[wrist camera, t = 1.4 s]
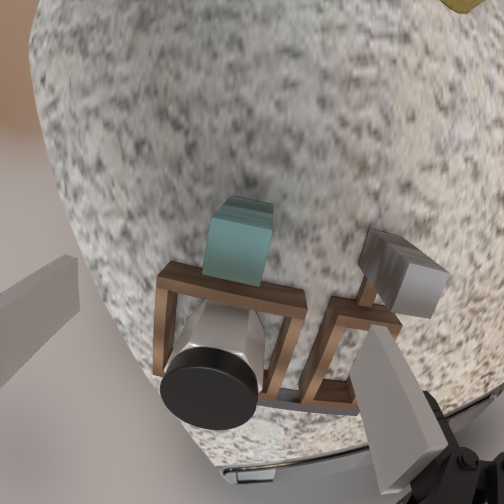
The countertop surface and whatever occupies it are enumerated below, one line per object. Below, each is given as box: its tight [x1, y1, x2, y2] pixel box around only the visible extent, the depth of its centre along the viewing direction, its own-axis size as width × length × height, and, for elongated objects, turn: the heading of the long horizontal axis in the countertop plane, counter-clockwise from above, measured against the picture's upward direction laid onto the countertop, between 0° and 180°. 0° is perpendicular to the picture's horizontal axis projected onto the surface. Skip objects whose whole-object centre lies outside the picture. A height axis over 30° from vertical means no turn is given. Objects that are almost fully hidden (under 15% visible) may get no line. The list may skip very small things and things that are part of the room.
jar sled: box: [153, 196, 308, 402], centre depth 27 cm, size 21×14×10 cm
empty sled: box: [298, 228, 450, 410], centre depth 27 cm, size 21×7×10 cm, turn 168°
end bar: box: [257, 388, 360, 416], centre depth 35 cm, size 2×25×2 cm, turn 78°
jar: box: [160, 299, 265, 430], centre depth 28 cm, size 9×8×12 cm
